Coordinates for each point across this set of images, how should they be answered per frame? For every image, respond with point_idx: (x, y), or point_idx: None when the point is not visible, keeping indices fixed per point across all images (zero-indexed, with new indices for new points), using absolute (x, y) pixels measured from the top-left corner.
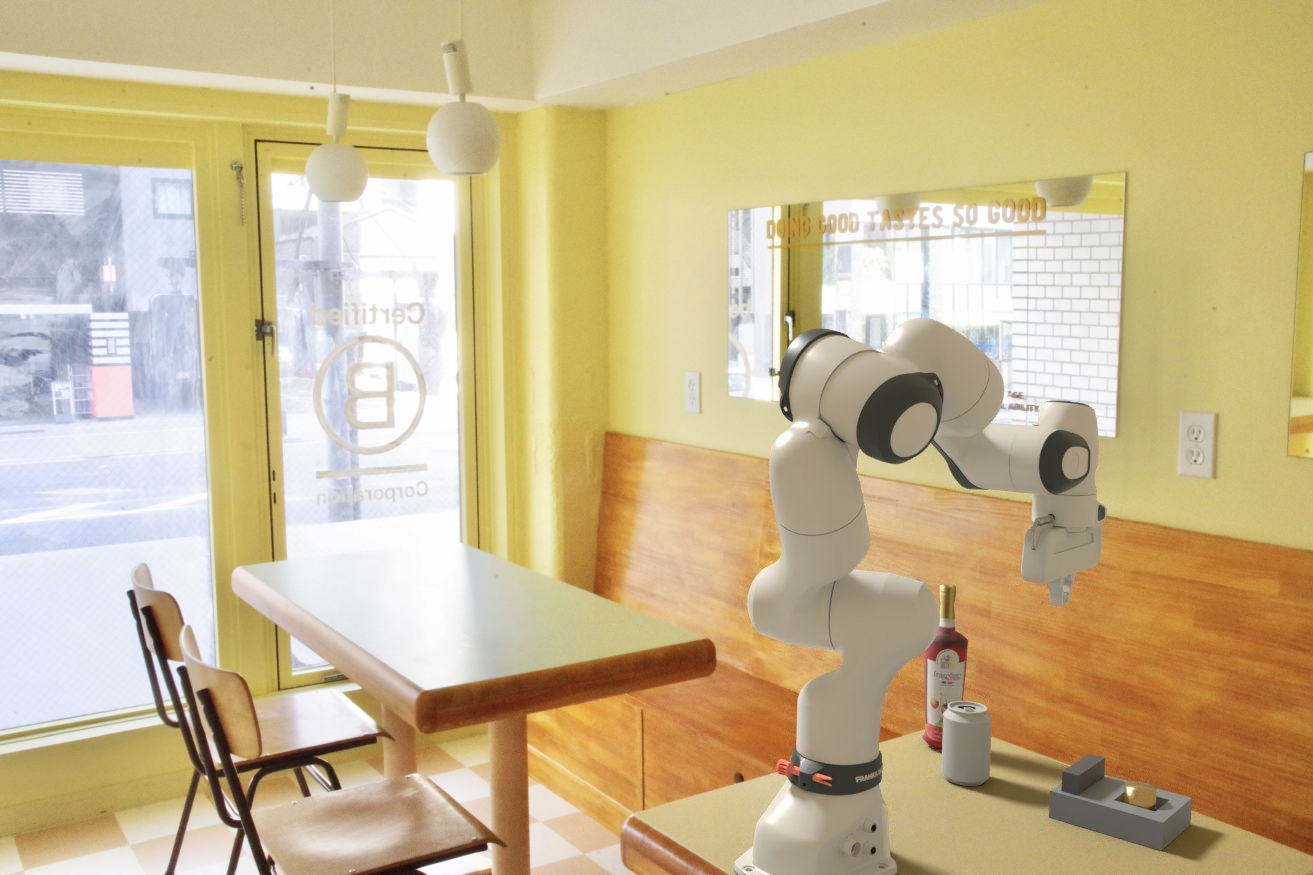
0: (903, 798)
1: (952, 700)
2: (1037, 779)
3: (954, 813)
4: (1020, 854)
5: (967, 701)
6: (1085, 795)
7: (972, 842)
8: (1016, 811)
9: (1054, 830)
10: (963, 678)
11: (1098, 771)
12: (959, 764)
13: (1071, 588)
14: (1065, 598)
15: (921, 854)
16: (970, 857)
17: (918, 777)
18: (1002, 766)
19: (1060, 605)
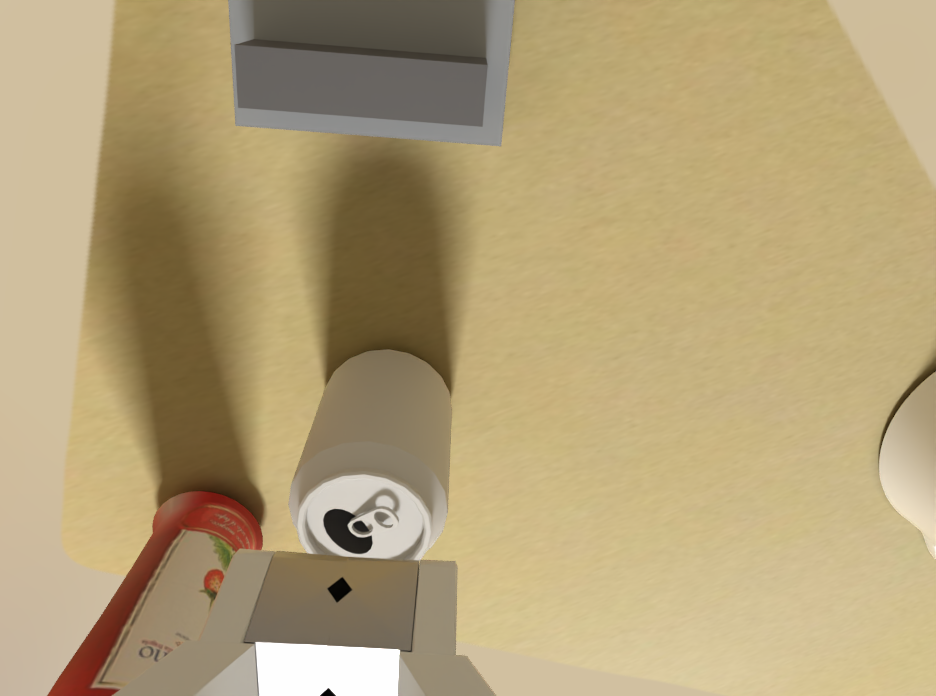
0: (614, 455)
1: (194, 596)
2: (246, 253)
3: (631, 332)
4: (799, 101)
5: (311, 547)
6: (465, 36)
7: (787, 230)
8: (517, 216)
9: (582, 82)
10: (124, 635)
11: (303, 46)
12: (449, 423)
13: (151, 670)
14: (351, 599)
15: (920, 296)
16: (882, 199)
17: (462, 481)
18: (228, 360)
19: (453, 567)
